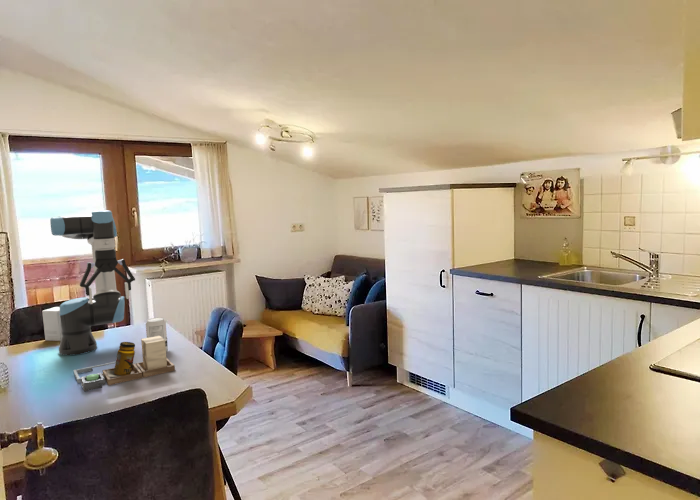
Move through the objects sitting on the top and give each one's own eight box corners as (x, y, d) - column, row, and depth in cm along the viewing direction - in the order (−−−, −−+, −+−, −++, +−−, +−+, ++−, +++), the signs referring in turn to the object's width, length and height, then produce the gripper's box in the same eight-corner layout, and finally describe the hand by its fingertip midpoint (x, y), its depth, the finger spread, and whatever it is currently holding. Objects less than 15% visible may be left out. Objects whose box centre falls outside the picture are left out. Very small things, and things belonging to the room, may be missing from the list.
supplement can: (143, 355, 220) (141, 321, 218) (157, 349, 228) (155, 316, 226) (158, 356, 217) (155, 322, 215) (172, 350, 224) (169, 317, 223)
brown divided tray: (102, 378, 193) (101, 370, 193) (166, 364, 207) (166, 356, 206) (108, 388, 183) (107, 380, 182) (175, 373, 196) (175, 365, 196)
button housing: (81, 384, 187) (80, 377, 187) (102, 380, 191) (101, 372, 191) (84, 391, 181) (83, 383, 180) (105, 386, 185) (105, 378, 184)
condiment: (133, 377, 190) (138, 345, 190) (108, 377, 185) (114, 344, 186) (129, 371, 196) (135, 341, 196) (106, 371, 192) (111, 340, 192)
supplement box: (74, 335, 254) (71, 306, 252) (60, 341, 245) (57, 311, 243) (59, 335, 256) (56, 306, 254) (44, 340, 247) (41, 310, 245)
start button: (86, 380, 186) (85, 375, 186) (98, 378, 188) (97, 373, 188) (87, 384, 183) (87, 378, 183) (99, 381, 185) (99, 376, 185)
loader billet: (143, 368, 199) (141, 338, 198) (161, 364, 203) (159, 335, 202) (148, 374, 193) (146, 343, 191) (167, 370, 197) (165, 340, 195)
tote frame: (73, 373, 199) (73, 370, 199) (124, 363, 210) (124, 359, 210) (78, 383, 189) (77, 379, 189) (131, 371, 199) (130, 368, 199)
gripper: (71, 252, 193) (76, 307, 196) (140, 246, 207) (144, 297, 210) (68, 251, 199) (74, 304, 202) (135, 245, 213) (140, 295, 216)
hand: (109, 301), depth 206 cm, fingers open, 13 cm apart
